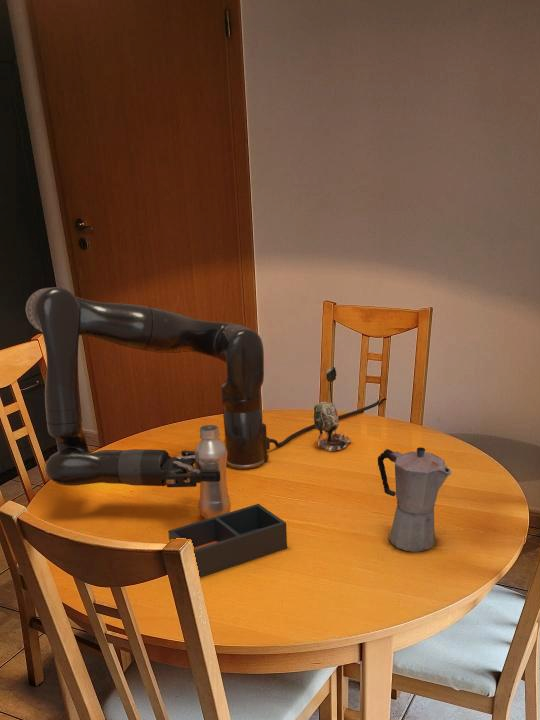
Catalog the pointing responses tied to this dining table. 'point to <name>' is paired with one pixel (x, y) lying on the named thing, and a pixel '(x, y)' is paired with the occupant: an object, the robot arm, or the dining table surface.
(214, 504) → the plastic bottle
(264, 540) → the compartment box
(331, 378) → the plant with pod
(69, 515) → the dining table surface
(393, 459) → the moka pot
